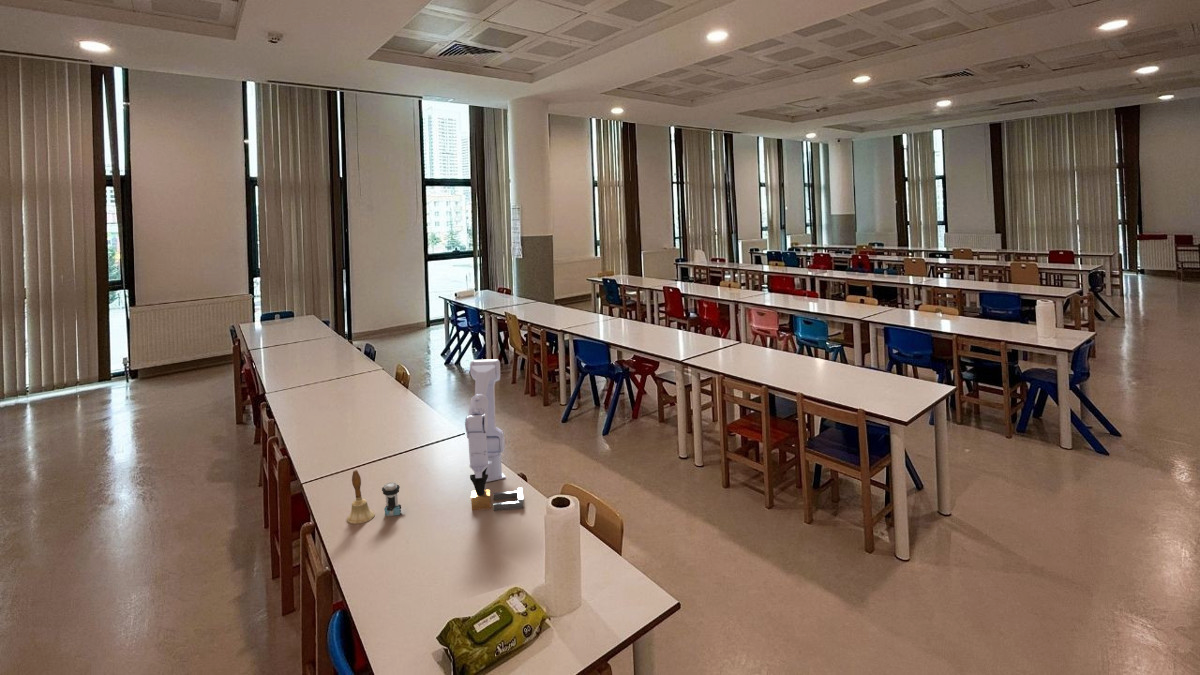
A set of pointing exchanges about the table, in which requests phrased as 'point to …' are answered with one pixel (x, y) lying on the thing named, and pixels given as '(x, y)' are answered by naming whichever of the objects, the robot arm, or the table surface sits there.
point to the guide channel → (509, 495)
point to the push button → (392, 499)
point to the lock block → (481, 500)
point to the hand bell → (359, 504)
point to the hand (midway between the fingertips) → (480, 489)
